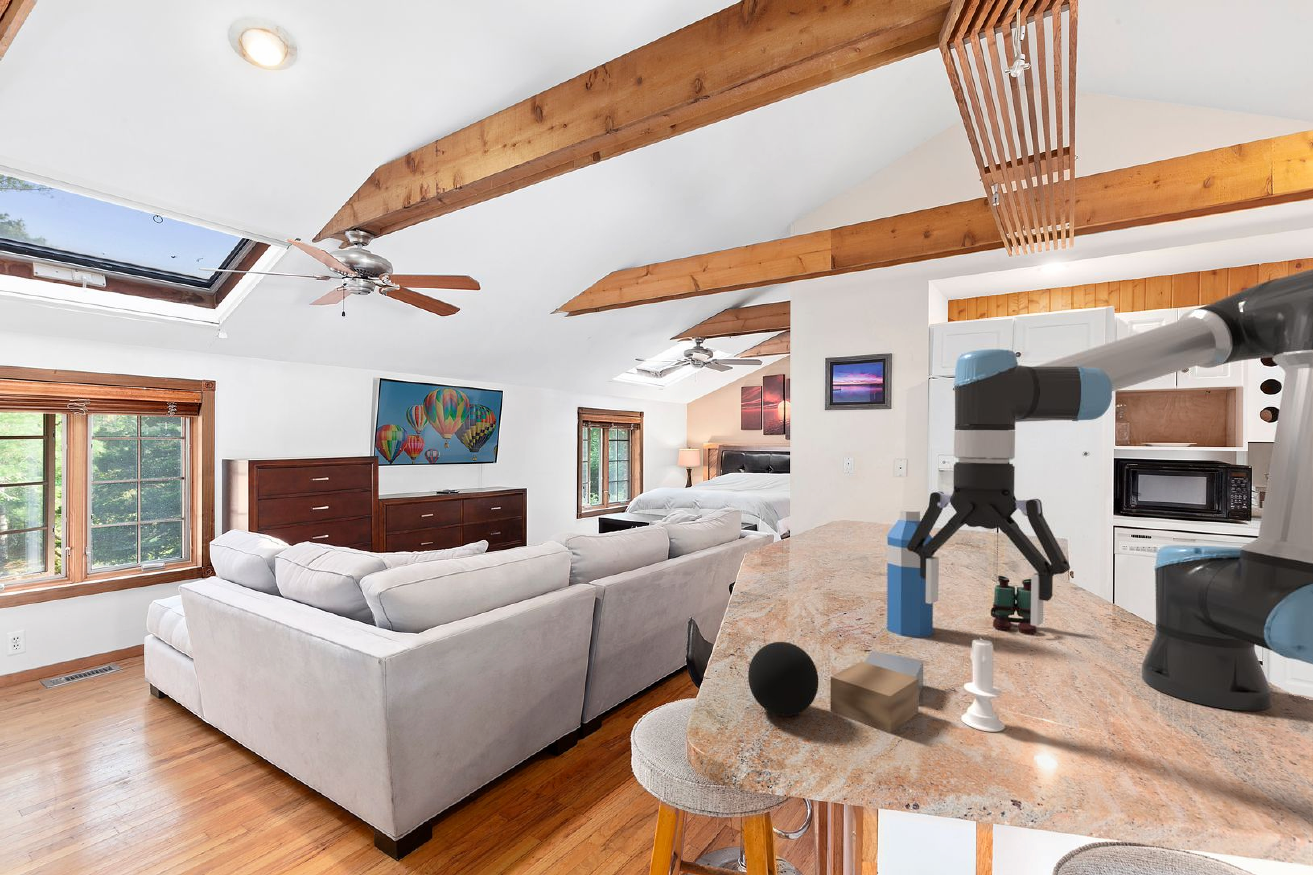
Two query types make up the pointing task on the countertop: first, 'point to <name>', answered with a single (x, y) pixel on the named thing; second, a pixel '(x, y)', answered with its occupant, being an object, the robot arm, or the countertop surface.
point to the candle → (982, 689)
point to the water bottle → (906, 581)
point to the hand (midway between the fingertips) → (981, 612)
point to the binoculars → (1012, 606)
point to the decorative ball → (783, 678)
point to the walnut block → (875, 696)
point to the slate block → (898, 664)
